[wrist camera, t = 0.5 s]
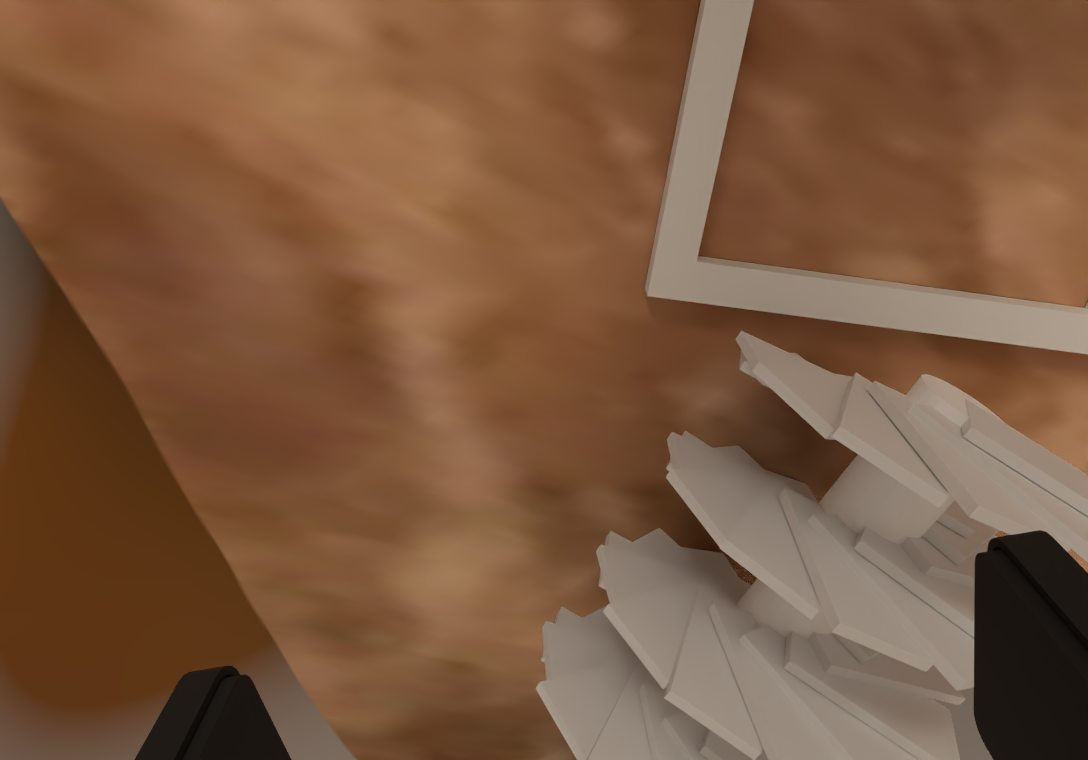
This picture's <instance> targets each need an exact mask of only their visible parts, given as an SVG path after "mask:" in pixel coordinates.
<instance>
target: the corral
mask: <svg viewBox="0 0 1088 760" xmlns="http://www.w3.org/2000/svg"><path fill="white" fill-rule="evenodd" d="M753 3H754V0H701V2H700V7H699V12H698V18H697V23H696V28H695V33H694V38H693V43H692V48H691V53H690V59H689V64H688V69H687V74H686V79H685V84H684V89H683V94H682V100H681V105H680V110H679V115H678V120H677V125H676V130H675V135H674V141H673V146H672V151H671V156H670V161H669V166H668V171H667V177H666V182H665V187H664V192H663V197H662V202H661V207H660V212H659V218H658V223H657V228H656V233H655V238H654V243H653V248H652V253H651V259H650V264H649V269H648V274H647V279H646V284H645V291H646V294H647V296H650V297H657V298H665V299H673V300H680V301H688V302H695V303H703V304H710V305H718V306H726V307H733V308H741V309H748V310H756V311H763V312H771V313H779V314H786V315H794V316H801V317H809V318H816V319H824V320H832V321H839V322H847V323H854V324H862V325H869V326H877V327H885V328H892V329H900V330H907V331H915V332H922V333H930V334H938V335H945V336H953V337H960V338H968V339H975V340H983V341H991V342H998V343H1006V344H1013V345H1021V346H1028V347H1036V348H1044V349H1051V350H1059V351H1066V352H1074V353H1081V354H1088V301H1087V304H1086V306H1085V308H1081V307H1074V306H1066V305H1059V304H1051V303H1044V302H1037V301H1029V300H1022V299H1014V298H1007V297H1000V296H992V295H985V294H977V293H970V292H963V291H955V290H948V289H940V288H933V287H925V286H918V285H911V284H903V283H896V282H888V281H881V280H874V279H866V278H859V277H851V276H844V275H837V274H829V273H822V272H814V271H807V270H799V269H792V268H785V267H777V266H770V265H762V264H755V263H748V262H740V261H733V260H725V259H718V258H711V257H703V256H698V253H699V248H700V244H701V239H702V235H703V230H704V226H705V221H706V217H707V212H708V208H709V203H710V198H711V194H712V189H713V185H714V180H715V176H716V171H717V167H718V162H719V158H720V153H721V149H722V144H723V139H724V135H725V130H726V126H727V121H728V117H729V112H730V108H731V103H732V99H733V94H734V89H735V85H736V80H737V76H738V71H739V67H740V62H741V58H742V53H743V49H744V44H745V39H746V35H747V30H748V26H749V21H750V17H751V12H752V8H753Z"/></svg>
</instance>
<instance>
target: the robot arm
mask: <svg viewBox="0 0 1088 760" xmlns="http://www.w3.org/2000/svg"><path fill="white" fill-rule="evenodd" d="M974 716H975V721H976V725H977V728H978V731H979V733H980V735H981V738H982V740H983V742H984V744H985V746H986V747H987V749H988V751H989V752H990V754H991V756H992V758H993V759H994V760H1088V573H1087V572H1086V571H1085V570H1084V569H1083V568H1082V567H1081V566H1080V565H1079V564H1078V563H1077V562H1076V561H1075V560H1074V559H1073V558H1072V557H1071V555H1070V554H1069V553H1068V552H1067V551H1066V550H1065V549H1064V548H1063V547H1062V546H1061V545H1060V544H1059V543H1058V542H1057V541H1056V540H1055V539H1054V538H1053V537H1052V536H1051V535H1050V534H1048V533H1047V532H1045V531H1042V530H1038V531H1032V532H1026V533H1020V534H1014V535H1008V536H1002V537H996V538H993V539H991V540H990V541H989V543H988V548H987V552H982V553H978V554H977V555H976V557H975V586H974ZM135 760H291V758H290V756H289V754H288V752H287V750H286V748H285V746H284V744H283V742H282V740H281V738H280V736H279V734H278V732H277V730H276V728H275V726H274V724H273V722H272V720H271V718H270V716H269V714H268V712H267V710H266V708H265V706H264V704H263V702H262V700H261V698H260V695H259V694H258V691H257V690H256V688H255V685H254V683H253V681H252V680H251V678H250V677H249V676H247V675H240V674H239V672H238V671H237V669H236V668H234V667H232V666H223V667H217V668H211V669H205V670H199V671H193V672H188V673H187V674H185V675H183V677H182V678H181V679H180V681H179V682H178V684H177V685H176V687H175V689H174V691H173V693H172V694H171V696H170V698H169V700H168V702H167V703H166V705H165V707H164V708H163V710H162V712H161V714H160V716H159V717H158V719H157V721H156V723H155V724H154V726H153V728H152V730H151V732H150V733H149V735H148V737H147V739H146V741H145V742H144V744H143V746H142V748H141V749H140V751H139V753H138V755H137V756H136V759H135Z"/></svg>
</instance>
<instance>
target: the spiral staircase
mask: <svg viewBox="0 0 1088 760" xmlns="http://www.w3.org/2000/svg"><path fill="white" fill-rule="evenodd" d="M735 340H736V341H737V343H738V345H739V347H740V349H741V356H740V367H739V370H741V371H743V372H744V373H746V374H748V375H750V376H751V377H753V378H755V379H756V380H758V381H759V382H760V384H762V385H764V386H766V387H768V388H771V389H772V390H773V391H774V392H775V393H776V394H777V395H778V396H779V397H781V398H782V399H783V400H784V401H785V402H786V403H787V404H788V405H789V406H790V407H791V408H792V409H794V410H795V411H796V412H797V413H798V414H799V415H800V416H801V417H802V418H803V419H804V420H805V421H807V422H808V423H809V424H810V425H811V426H812V427H813V428H814V429H815V430H816V431H817V432H818V433H819V434H821V435H822V436H823V437H824V438H825V439H830V440H837V441H839V442H840V443H842V444H843V445H845V446H846V447H848V448H849V449H851V450H852V451H854V452H855V453H857V454H858V455H857V456H856V457H855V458H854V460H853V461H852V462H851V463H850V465H849V466H848V467H847V468H846V469H845V471H844V472H843V473H842V474H841V476H840V477H839V478H838V479H837V481H836V482H835V483H834V484H833V486H832V487H831V488H830V489H829V490H828V492H827V493H826V494H825V495H824V497H823V498H822V499H821V500H820V502H819V503H818V501H817V499H816V498H815V496H814V495H813V493H812V492H811V490H810V489H809V487H808V486H807V484H805V483H802V482H799V481H797V480H794V479H791V478H788V477H785V476H782V475H779V474H777V473H774V472H771V471H768V470H765V469H763V468H762V467H761V466H760V465H759V464H758V463H757V462H756V461H755V460H754V459H753V458H752V457H750V456H749V455H748V454H747V453H746V452H745V451H744V450H743V449H742V448H741V447H740V446H739V445H737V446H726V447H715V448H712V447H711V446H709V445H707V444H706V443H704V442H703V441H701V440H699V439H698V438H696V437H695V436H693V435H692V434H690V433H688V432H687V431H684V433H683V434H682V436H680V435H678V434H676V433H674V432H671V434H670V435H669V437H668V438H667V443H668V448H669V453H670V458H671V459H670V461H669V463H668V465H667V467H666V469H667V470H668V471H669V473H668V474H667V476H666V478H667V480H668V481H669V482H670V484H671V485H672V486H673V487H674V489H675V490H676V491H677V493H678V494H679V495H680V497H681V498H682V499H683V500H684V502H685V503H686V504H687V506H688V507H689V508H690V510H691V511H692V512H693V513H694V515H695V516H696V517H697V519H698V520H699V521H700V523H701V524H702V525H703V526H704V528H705V529H706V530H707V532H708V533H709V534H710V535H711V537H712V538H713V539H714V541H715V542H716V543H717V545H718V546H719V547H720V549H721V550H722V551H723V552H725V553H726V554H727V555H729V556H730V557H731V558H732V559H734V560H735V561H736V562H737V563H739V564H740V565H741V566H743V567H744V568H745V569H746V570H748V571H749V572H750V573H752V574H753V575H754V576H755V577H757V579H756V580H755V582H754V583H753V584H752V585H750V584H748V583H747V582H745V581H743V580H741V579H739V577H738V575H737V574H736V572H735V571H734V569H733V568H732V566H731V564H730V563H729V561H728V560H727V558H726V557H725V555H724V553H719V552H712V551H705V550H699V549H692V548H685V547H680V546H679V545H678V544H677V543H676V542H675V541H674V540H672V539H671V538H670V537H669V536H668V535H667V534H666V533H665V532H664V531H663V530H662V529H660V528H658V529H656V530H654V531H652V532H650V533H648V534H646V535H645V536H643V537H641V538H639V539H637V540H635V541H633V542H631V541H629V540H627V539H625V538H623V537H621V536H620V535H618V534H616V533H614V532H612V531H610V532H609V534H608V535H607V537H606V541H605V546H604V545H600V546H599V548H598V549H597V551H596V554H597V558H598V561H599V565H600V569H601V572H600V578H599V584H598V586H599V587H601V588H603V589H605V590H606V591H607V595H608V599H609V603H610V604H608V605H607V606H606V607H603V608H601V609H599V610H597V611H595V612H593V613H591V614H589V615H587V616H585V617H582V618H581V617H579V616H578V615H576V614H574V613H573V612H571V611H569V610H568V609H566V608H564V607H562V606H561V608H560V609H559V611H558V613H557V616H556V618H555V621H554V623H551V622H548V621H546V622H545V624H544V625H543V627H542V632H543V644H544V653H543V655H542V658H541V661H542V662H544V663H545V670H546V680H545V681H542V682H540V683H539V684H538V685H537V687H536V690H537V692H538V694H539V695H540V697H541V699H542V700H543V702H544V704H545V706H546V707H547V709H548V711H549V713H550V714H551V716H552V718H553V719H554V721H555V723H556V725H557V726H558V728H559V730H560V731H561V733H562V735H563V737H564V738H565V740H566V742H567V743H568V745H569V747H570V749H571V750H572V752H573V754H574V755H575V757H576V759H577V760H960V757H959V752H958V747H957V742H956V737H955V732H954V727H953V721H952V716H951V712H950V710H949V709H947V708H945V707H944V706H943V705H941V704H939V703H938V702H937V701H935V700H940V701H943V702H947V703H952V704H956V705H960V704H961V703H962V702H963V701H964V700H965V699H966V698H965V697H964V695H963V694H962V692H961V691H960V690H964V689H968V688H973V687H974V586H975V557H976V555H977V554H978V553H982V552H987V548H988V543H989V541H990V540H991V539H993V538H996V537H997V536H996V535H995V534H996V533H997V532H999V531H1003V532H1005V533H1007V534H1010V535H1014V534H1020V533H1026V532H1032V531H1038V530H1042V531H1045V532H1047V533H1048V534H1050V535H1051V536H1052V537H1053V538H1054V539H1055V540H1056V541H1057V542H1058V543H1059V544H1060V545H1061V546H1062V547H1063V548H1064V549H1065V550H1066V551H1067V552H1069V551H1070V550H1071V549H1072V550H1073V551H1075V552H1076V553H1077V554H1078V555H1079V556H1081V557H1082V558H1083V559H1084V560H1086V561H1087V562H1088V475H1087V474H1086V473H1084V472H1082V471H1081V470H1079V469H1078V468H1076V467H1074V466H1073V465H1071V464H1070V463H1068V462H1066V461H1065V460H1063V459H1061V458H1060V457H1058V456H1057V455H1055V454H1053V453H1052V452H1050V451H1049V450H1047V449H1045V448H1044V447H1042V446H1041V445H1039V444H1037V443H1036V442H1034V441H1033V440H1031V439H1029V438H1028V437H1026V436H1025V435H1023V434H1021V433H1020V432H1018V431H1017V430H1015V429H1013V428H1012V427H1010V426H1009V425H1007V424H1005V423H1004V422H1003V421H1002V420H1001V419H1000V418H999V417H998V416H997V415H995V414H994V413H993V412H992V411H990V410H989V409H988V408H986V407H985V406H984V405H982V404H981V403H980V402H978V401H977V400H975V399H974V398H972V397H971V396H969V395H968V394H966V393H965V392H963V391H961V390H960V389H958V388H956V387H955V386H953V385H951V384H949V383H947V382H945V381H943V380H941V379H939V378H936V377H934V376H931V375H927V374H923V375H922V376H921V377H920V378H919V379H918V381H917V382H916V383H915V384H914V386H913V387H912V388H911V389H910V391H909V392H908V393H907V394H906V395H904V394H902V393H900V392H898V391H896V390H894V389H892V388H889V387H887V386H885V385H883V384H881V383H879V382H877V381H874V382H873V383H872V382H871V381H869V380H868V379H866V378H864V377H863V376H861V375H860V374H858V373H857V372H856V373H855V374H854V376H853V377H852V376H846V375H839V374H834V373H832V372H829V371H827V370H825V369H823V368H821V367H819V366H817V365H814V364H812V363H810V362H808V361H806V360H805V359H803V358H802V357H801V356H799V355H798V354H797V353H789V352H786V351H784V350H782V349H780V348H778V347H776V346H774V345H771V344H769V343H767V342H765V341H763V340H761V339H758V338H756V337H754V336H752V335H750V334H748V333H746V332H743V331H741V332H740V333H739V335H738V336H737V338H736V339H735ZM933 699H935V700H933Z"/></svg>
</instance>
